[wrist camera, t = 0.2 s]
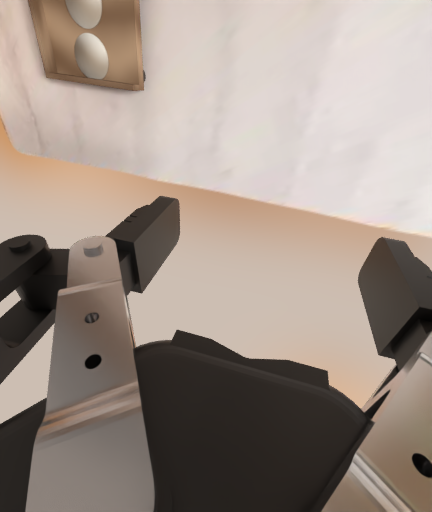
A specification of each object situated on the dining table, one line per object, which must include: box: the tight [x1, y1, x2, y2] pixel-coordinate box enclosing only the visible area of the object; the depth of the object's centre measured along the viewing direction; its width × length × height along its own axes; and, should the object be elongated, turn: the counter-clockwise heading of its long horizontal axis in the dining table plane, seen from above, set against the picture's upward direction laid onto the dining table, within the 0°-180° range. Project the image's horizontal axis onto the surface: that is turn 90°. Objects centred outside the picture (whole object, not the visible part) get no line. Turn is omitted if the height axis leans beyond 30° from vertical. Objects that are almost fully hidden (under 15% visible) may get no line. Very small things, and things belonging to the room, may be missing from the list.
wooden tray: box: [28, 0, 145, 91], centre depth 30 cm, size 16×13×4 cm
